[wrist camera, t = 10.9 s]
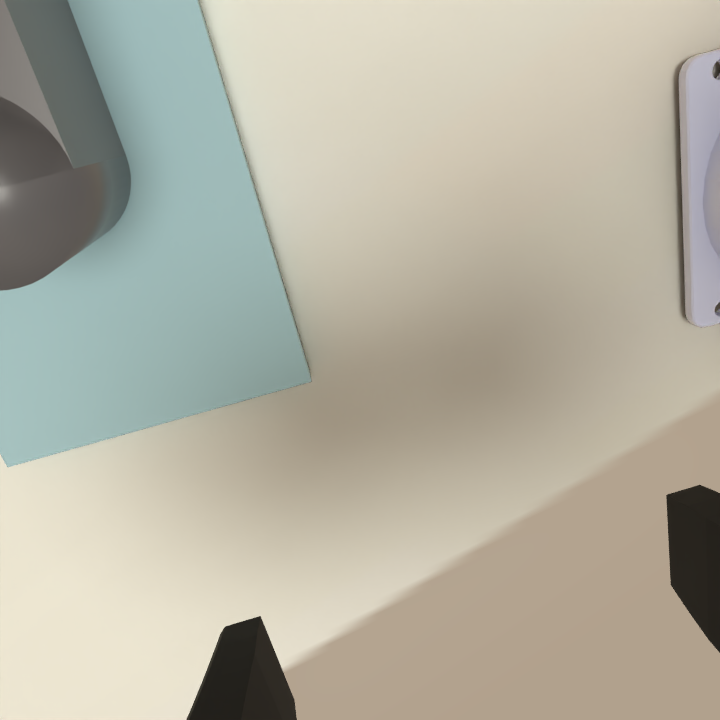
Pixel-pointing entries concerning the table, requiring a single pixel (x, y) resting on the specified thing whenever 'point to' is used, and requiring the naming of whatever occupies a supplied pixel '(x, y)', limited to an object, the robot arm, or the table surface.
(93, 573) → the table surface
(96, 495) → the table surface
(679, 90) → the robot arm
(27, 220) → the connector
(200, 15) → the desk mat
